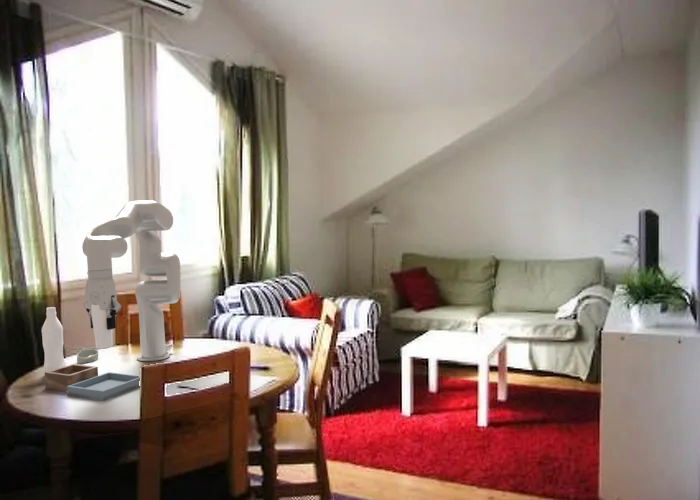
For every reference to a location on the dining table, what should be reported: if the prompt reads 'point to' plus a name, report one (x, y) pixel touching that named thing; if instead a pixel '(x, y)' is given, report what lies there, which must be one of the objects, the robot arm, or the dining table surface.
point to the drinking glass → (101, 328)
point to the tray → (104, 386)
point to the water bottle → (52, 341)
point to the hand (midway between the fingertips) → (103, 327)
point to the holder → (69, 376)
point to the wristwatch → (87, 355)
